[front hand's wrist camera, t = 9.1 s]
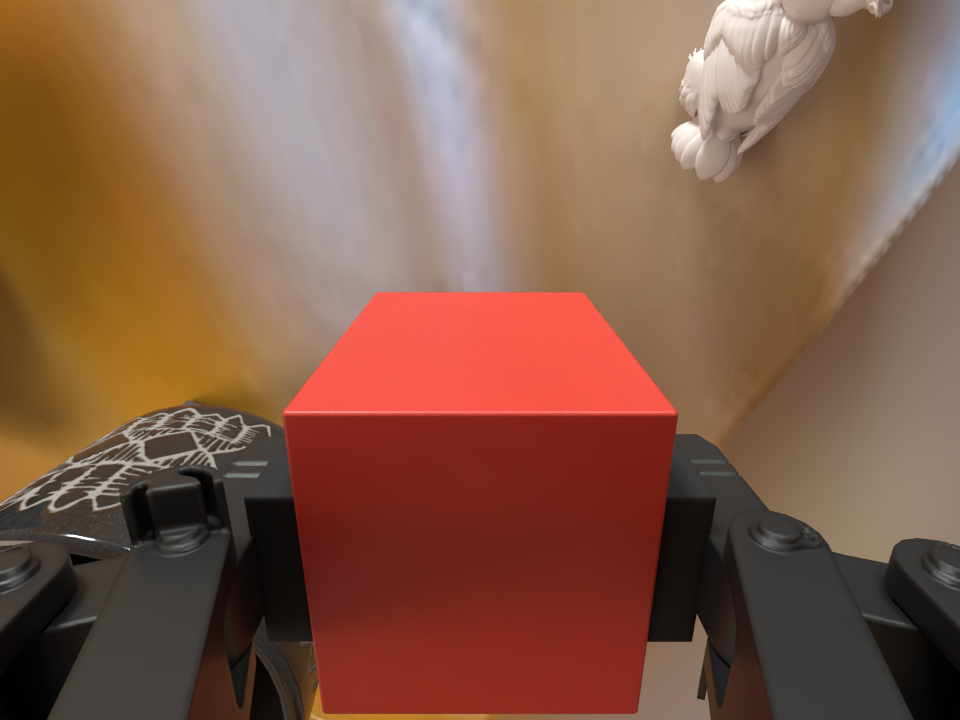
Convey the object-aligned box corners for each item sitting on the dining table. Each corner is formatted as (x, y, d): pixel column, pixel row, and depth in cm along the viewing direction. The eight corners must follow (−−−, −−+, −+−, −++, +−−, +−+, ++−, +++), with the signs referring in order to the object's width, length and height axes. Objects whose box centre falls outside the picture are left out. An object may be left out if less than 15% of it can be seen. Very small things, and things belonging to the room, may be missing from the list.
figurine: (833, -18, 38) (998, -101, 26) (730, 196, 42) (828, 209, 31) (729, -65, 37) (850, -174, 25) (635, 159, 42) (699, 158, 30)
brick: (375, 291, 14) (279, 412, 7) (584, 291, 14) (680, 412, 7) (388, 482, 16) (322, 716, 9) (571, 482, 16) (638, 715, 9)
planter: (155, 495, 51) (-147, 806, 27) (190, 303, 45) (-161, 474, 20) (357, 552, 54) (254, 887, 29) (417, 377, 47) (351, 612, 23)
